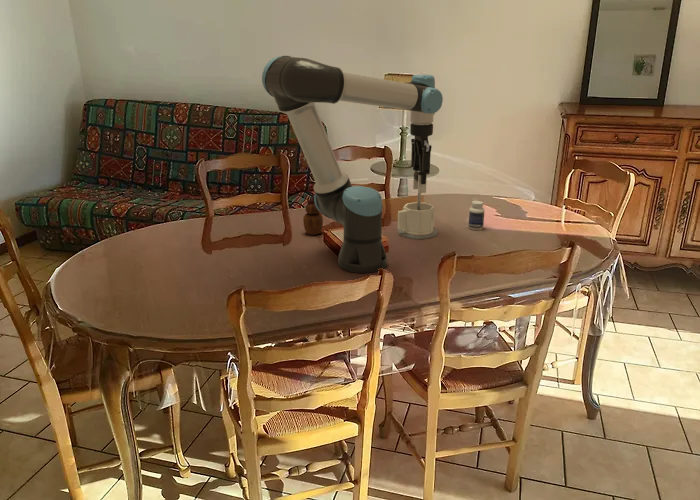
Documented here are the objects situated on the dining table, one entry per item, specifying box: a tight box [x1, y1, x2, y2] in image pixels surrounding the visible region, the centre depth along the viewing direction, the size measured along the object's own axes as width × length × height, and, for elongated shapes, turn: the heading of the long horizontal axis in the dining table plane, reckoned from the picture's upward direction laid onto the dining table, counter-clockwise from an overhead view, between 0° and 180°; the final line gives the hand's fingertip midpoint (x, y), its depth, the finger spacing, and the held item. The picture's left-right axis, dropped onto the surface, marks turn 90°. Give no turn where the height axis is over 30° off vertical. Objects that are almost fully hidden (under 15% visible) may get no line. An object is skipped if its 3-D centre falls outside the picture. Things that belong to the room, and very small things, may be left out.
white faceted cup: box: [397, 201, 439, 240], centre depth 208 cm, size 15×14×10 cm
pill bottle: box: [467, 200, 485, 231], centre depth 212 cm, size 5×5×10 cm
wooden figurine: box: [303, 193, 324, 236], centre depth 207 cm, size 7×6×15 cm
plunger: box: [413, 169, 422, 211], centre depth 205 cm, size 7×7×18 cm
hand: (419, 190), depth 205 cm, fingers closed on plunger, 4 cm apart
